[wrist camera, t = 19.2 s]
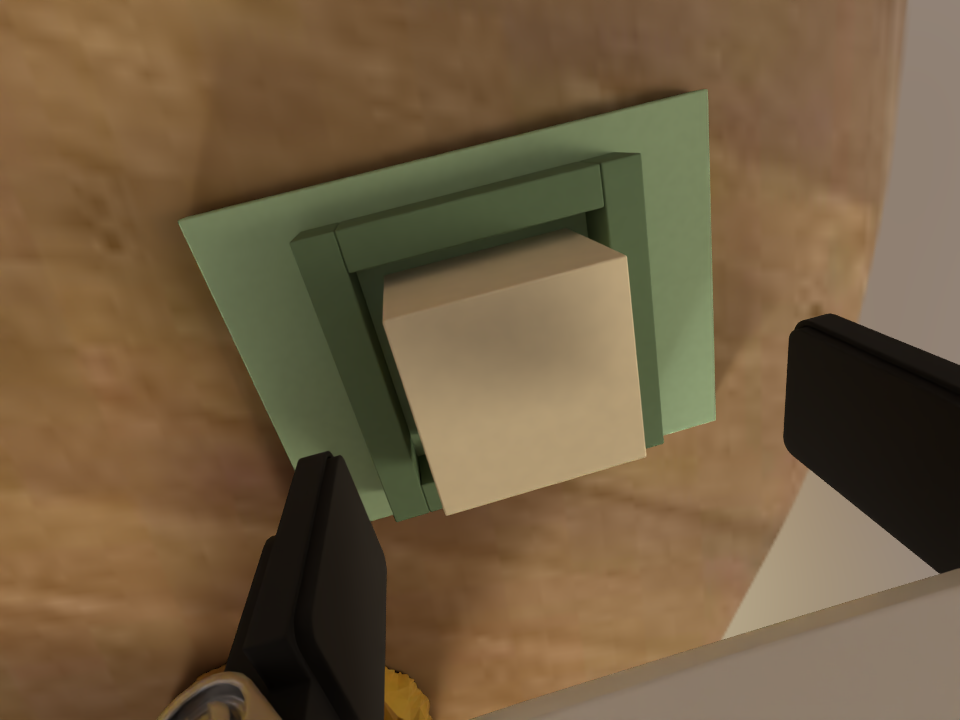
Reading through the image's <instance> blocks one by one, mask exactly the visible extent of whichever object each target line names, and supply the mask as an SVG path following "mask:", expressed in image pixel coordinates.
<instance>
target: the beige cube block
mask: <svg viewBox="0 0 960 720" xmlns="http://www.w3.org/2000/svg"><path fill="white" fill-rule="evenodd" d="M382 323H383V326H384V329H385V332H386V335H387V338H388V341H389V344H390V347H391V350H392V353H393V357H394V360H395V363H396V366H397V369H398V372H399V375H400V378H401V381H402V384H403V387H404V390H405V393H406V396H407V399H408V403H409V406H410V409H411V412H412V415H413V418H414V421H415V424H416V427H417V430H418V433H419V436H420V439H421V442H422V445H423V449H424V452H425V455H426V458H427V461H428V464H429V467H430V470H431V473H432V476H433V479H434V482H435V485H436V488H437V491H438V495H439V498H440V501H441V504H442V507H443V510H444V513H445V515H446V516H448V515H451V514H455V513H458V512H462V511H465V510H468V509H472V508H475V507H479V506H482V505H485V504H489V503H492V502H495V501H499V500H502V499H506V498H509V497H512V496H516V495H519V494H523V493H526V492H529V491H533V490H536V489H539V488H543V487H546V486H550V485H553V484H556V483H560V482H563V481H567V480H570V479H573V478H577V477H580V476H583V475H587V474H590V473H594V472H597V471H600V470H604V469H607V468H611V467H614V466H617V465H621V464H624V463H628V462H631V461H634V460H638V459H641V458H644V457H646V448H645V437H644V427H643V417H642V406H641V396H640V386H639V376H638V365H637V355H636V345H635V334H634V324H633V314H632V304H631V293H630V283H629V273H628V262H627V256H626V255H624V254H622V253H619V252H617V251H615V250H613V249H611V248H609V247H606V246H604V245H602V244H600V243H598V242H596V241H593V240H591V239H589V238H587V237H585V236H583V235H580V234H578V233H576V232H574V231H572V230H569V229H567V228H564V229H560V230H556V231H552V232H548V233H544V234H541V235H537V236H533V237H529V238H525V239H522V240H518V241H514V242H510V243H506V244H502V245H499V246H495V247H491V248H487V249H483V250H480V251H476V252H472V253H468V254H464V255H460V256H457V257H453V258H449V259H445V260H441V261H438V262H434V263H430V264H426V265H422V266H419V267H415V268H411V269H407V270H403V271H399V272H396V273H392V274H388V275H385V276H384V291H383V322H382Z"/></svg>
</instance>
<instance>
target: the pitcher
mask: <svg viewBox="0 0 960 720" xmlns="http://www.w3.org/2000/svg"><path fill="white" fill-rule="evenodd" d="M225 667H226V665H223V666H222V667H220V668H219V669H213V670H211V671H210V672H208V673H203V675H202V676H199V677H197V680H195V681H196V682H198V681H200V680H202V679H205V678H207V677H209V676H211V675H213V674H217V673H222V672H224V670H225ZM394 672H395V670H388V668H387V667H386V666H385V696H384V720H432V717H431V716H430V715H429V714H428V713H429V709H430V701H428V697H426V696H425V695H424V694H422V691H421V690H420V689H417V685H416V683H414V679H411V678H409V676H408V674H401V672H399V673H398V674H397V673H394ZM196 682H194V683H193V684H195V683H196ZM193 684H191V686H192V685H193Z"/></svg>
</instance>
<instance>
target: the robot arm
mask: <svg viewBox="0 0 960 720" xmlns="http://www.w3.org/2000/svg"><path fill="white" fill-rule="evenodd" d="M783 438H784V443H785V446H786V448H787V450H788V451H789V452H790V453H791V454H792V455H793V456H794V457H795V458H796V459H798V460H799V461H800V462H801V463H803V464H804V465H805V466H806V467H808V468H809V469H810V470H811V471H813V472H814V473H815V474H816V475H818V476H819V477H820V478H821V479H823V480H824V481H825V482H826V483H827V484H829V485H830V486H831V487H832V488H834V489H835V490H836V491H838V492H839V493H840V494H841V495H842V496H844V497H845V498H846V499H847V500H849V501H850V502H851V503H852V504H854V505H855V506H856V507H858V508H859V509H860V510H861V511H862V512H864V513H865V514H866V515H867V516H869V517H870V518H871V519H872V520H873V521H875V522H876V523H877V524H879V525H880V526H881V527H882V528H884V529H885V530H886V531H887V532H888V533H890V534H891V535H892V536H893V537H895V538H896V539H897V540H898V541H900V542H901V543H902V544H903V545H905V546H906V547H907V548H908V549H910V550H911V551H912V552H913V553H915V554H916V555H917V556H918V557H920V558H921V559H922V560H923V561H924V562H926V563H927V564H928V565H930V566H931V567H932V568H933V569H934V570H936V571H937V572H938V573H940V574H938V575H935V576H932V577H928V578H925V579H922V580H918V581H915V582H912V583H908V584H905V585H902V586H898V587H895V588H891V589H888V590H885V591H882V592H878V593H875V594H872V595H868V596H865V597H862V598H859V599H855V600H852V601H849V602H845V603H842V604H839V605H836V606H832V607H829V608H825V609H822V610H819V611H816V612H812V613H809V614H806V615H802V616H799V617H796V618H793V619H789V620H786V621H783V622H779V623H776V624H773V625H770V626H766V627H763V628H760V629H757V630H753V631H750V632H747V633H743V634H741V635H737V636H734V637H730V638H727V639H724V640H721V641H717V642H714V643H711V644H707V645H704V646H701V647H698V648H694V649H691V650H688V651H685V652H681V653H678V654H675V655H672V656H669V657H665V658H662V659H659V660H656V661H653V662H649V663H646V664H643V665H640V666H636V667H633V668H630V669H627V670H624V671H620V672H617V673H614V674H611V675H607V676H604V677H601V678H598V679H595V680H591V681H588V682H585V683H582V684H579V685H575V686H572V687H569V688H566V689H562V690H559V691H556V692H553V693H550V694H546V695H543V696H540V697H537V698H534V699H530V700H527V701H524V702H521V703H518V704H515V705H512V706H509V707H506V708H503V709H500V710H497V711H494V712H491V713H488V714H485V715H482V716H479V717H476V718H473V719H470V720H960V365H958V364H955V363H953V362H950V361H948V360H946V359H943V358H940V357H938V356H935V355H933V354H931V353H928V352H926V351H923V350H921V349H919V348H916V347H913V346H911V345H909V344H906V343H904V342H901V341H899V340H896V339H894V338H891V337H889V336H886V335H884V334H881V333H879V332H877V331H874V330H872V329H869V328H867V327H864V326H862V325H859V324H857V323H855V322H852V321H850V320H847V319H845V318H842V317H840V316H837V315H834V314H825V315H821V316H817V317H814V318H810V319H807V320H803V321H800V322H799V323H798V324H797V325H796V327H795V330H794V331H792V332H791V334H790V336H789V347H788V364H787V382H786V399H785V417H784V434H783ZM386 584H387V568H386V561H385V557H384V553H383V550H382V548H381V546H380V543H379V541H378V539H377V536H376V534H375V531H374V529H373V527H372V524H371V522H370V519H369V517H368V515H367V512H366V510H365V507H364V505H363V503H362V500H361V498H360V496H359V493H358V491H357V488H356V486H355V484H354V481H353V479H352V476H351V474H350V472H349V469H348V467H347V464H346V462H345V460H344V458H343V457H342V456H341V455H338V456H335V457H334V456H333V454H332V453H331V452H330V451H325V452H321V453H318V454H314V455H310V456H307V457H303V458H300V459H299V460H298V462H297V466H296V469H295V473H294V476H293V479H292V483H291V486H290V489H289V493H288V496H287V499H286V503H285V506H284V510H283V513H282V516H281V520H280V523H279V526H278V530H277V533H276V535H275V536H272V537H270V538H269V539H268V540H267V541H266V543H265V545H264V547H263V550H262V553H261V557H260V560H259V563H258V566H257V569H256V572H255V575H254V579H253V582H252V585H251V588H250V591H249V594H248V597H247V601H246V604H245V607H244V610H243V613H242V616H241V619H240V623H239V626H238V629H237V632H236V635H235V638H234V641H233V645H232V648H231V651H230V654H229V657H228V660H227V663H226V667H225V670H224V672H222V673H217V674H213V675H211V676H209V677H207V678H205V679H202V680H200V681H198V682H196V683H195V684H193V685H192V686H191V687H189V688H188V689H187V690H185V691H184V692H182V693H181V694H180V695H178V696H177V697H176V698H175V699H174V700H173V701H172V702H171V703H170V704H169V705H168V706H167V708H166V709H165V710H164V711H163V712H162V713H161V714H160V716H159V717H158V718H157V720H384V696H385V640H386Z"/></svg>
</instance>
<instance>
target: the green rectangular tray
mask: <svg viewBox="0 0 960 720" xmlns="http://www.w3.org/2000/svg"><path fill="white" fill-rule="evenodd" d="M178 224H179V226H180V228H181V230H182V232H183V234H184V236H185V238H186V241H187V243H188V245H189V247H190V249H191V251H192V253H193V255H194V258H195V260H196V262H197V264H198V266H199V268H200V270H201V272H202V275H203V277H204V279H205V281H206V283H207V285H208V287H209V290H210V292H211V294H212V296H213V298H214V300H215V302H216V304H217V307H218V309H219V311H220V313H221V315H222V317H223V319H224V321H225V324H226V326H227V328H228V330H229V332H230V334H231V336H232V338H233V341H234V343H235V345H236V347H237V349H238V351H239V353H240V355H241V358H242V360H243V362H244V364H245V366H246V368H247V370H248V373H249V375H250V377H251V379H252V381H253V383H254V385H255V387H256V390H257V392H258V394H259V396H260V398H261V400H262V402H263V404H264V407H265V409H266V411H267V413H268V415H269V417H270V419H271V421H272V424H273V426H274V428H275V430H276V432H277V434H278V436H279V438H280V441H281V443H282V445H283V447H284V449H285V451H286V453H287V455H288V458H289V460H290V462H291V464H292V466H293V468H294V470H295V469H296V466H297V462H298V460H299V459H300V458H303V457H307V456H310V455H314V454H318V453H321V452H325V451H330V452H331V453H332V454H333V456H334V457H335V456H338V455H341V456H342V457H343V458H344V460H345V462H346V464H347V467H348V469H349V472H350V474H351V476H352V479H353V481H354V484H355V486H356V488H357V491H358V493H359V496H360V498H361V500H362V503H363V505H364V507H365V510H366V512H367V515H368V517H369V519H370V521H374V520H377V519H380V518H384V517H387V516H391V515H394V518H395V521H396V522H399V521H402V520H406V519H409V518H413V517H416V516H419V515H423V514H426V513H429V510H430V512H432V511H436V510H439V509H443V507H442V504H441V501H440V498H439V495H438V491H437V488H436V485H435V482H434V479H433V476H432V473H431V470H430V467H429V464H428V461H427V458H426V455H425V452H424V449H423V445H422V442H421V439H420V436H419V433H418V430H417V427H416V424H415V421H414V418H413V415H412V412H411V409H410V406H409V403H408V399H407V396H406V393H405V390H404V387H403V384H402V381H401V378H400V375H399V372H398V369H397V366H396V363H395V360H394V357H393V353H392V350H391V347H390V344H389V341H388V338H387V335H386V332H385V329H384V326H383V323H382V322H383V291H384V276H385V275H388V274H392V273H396V272H399V271H403V270H407V269H411V268H415V267H419V266H422V265H426V264H430V263H434V262H438V261H441V260H445V259H449V258H453V257H457V256H460V255H464V254H468V253H472V252H476V251H480V250H483V249H487V248H491V247H495V246H499V245H502V244H506V243H510V242H514V241H518V240H522V239H525V238H529V237H533V236H537V235H541V234H544V233H548V232H552V231H556V230H560V229H564V228H567V229H569V230H572V231H574V232H576V233H578V234H580V235H583V236H585V237H587V238H589V239H591V240H593V241H596V242H598V243H600V244H602V245H604V246H606V247H609V248H611V249H613V250H615V251H617V252H619V253H622V254H624V255H626V256H627V262H628V273H629V283H630V293H631V304H632V314H633V324H634V334H635V345H636V355H637V365H638V376H639V386H640V396H641V406H642V417H643V427H644V437H645V448H650V447H653V446H657V445H660V444H663V443H664V439H663V435H667V434H670V433H674V432H677V431H680V430H684V429H687V428H691V427H694V426H697V425H701V424H704V423H708V422H711V421H714V420H716V407H715V366H714V325H713V284H712V243H711V202H710V161H709V120H708V90H707V89H702V90H697V91H692V92H688V93H684V94H680V95H676V96H672V97H668V98H664V99H659V100H655V101H651V102H647V103H643V104H639V105H635V106H631V107H627V108H623V109H619V110H615V111H611V112H607V113H603V114H599V115H595V116H591V117H587V118H583V119H579V120H575V121H571V122H567V123H563V124H559V125H555V126H551V127H547V128H543V129H539V130H535V131H531V132H527V133H523V134H519V135H515V136H511V137H506V138H502V139H498V140H494V141H490V142H486V143H482V144H478V145H474V146H470V147H466V148H462V149H458V150H454V151H450V152H446V153H442V154H438V155H434V156H430V157H426V158H422V159H418V160H414V161H410V162H406V163H402V164H398V165H394V166H390V167H386V168H382V169H378V170H374V171H370V172H366V173H362V174H358V175H354V176H349V177H345V178H341V179H337V180H333V181H329V182H325V183H321V184H317V185H313V186H309V187H305V188H301V189H297V190H293V191H289V192H285V193H281V194H277V195H273V196H269V197H265V198H261V199H257V200H253V201H249V202H245V203H241V204H237V205H233V206H229V207H225V208H221V209H217V210H213V211H209V212H205V213H201V214H197V215H192V216H188V217H185V218H183V219H180V220H178Z"/></svg>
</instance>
